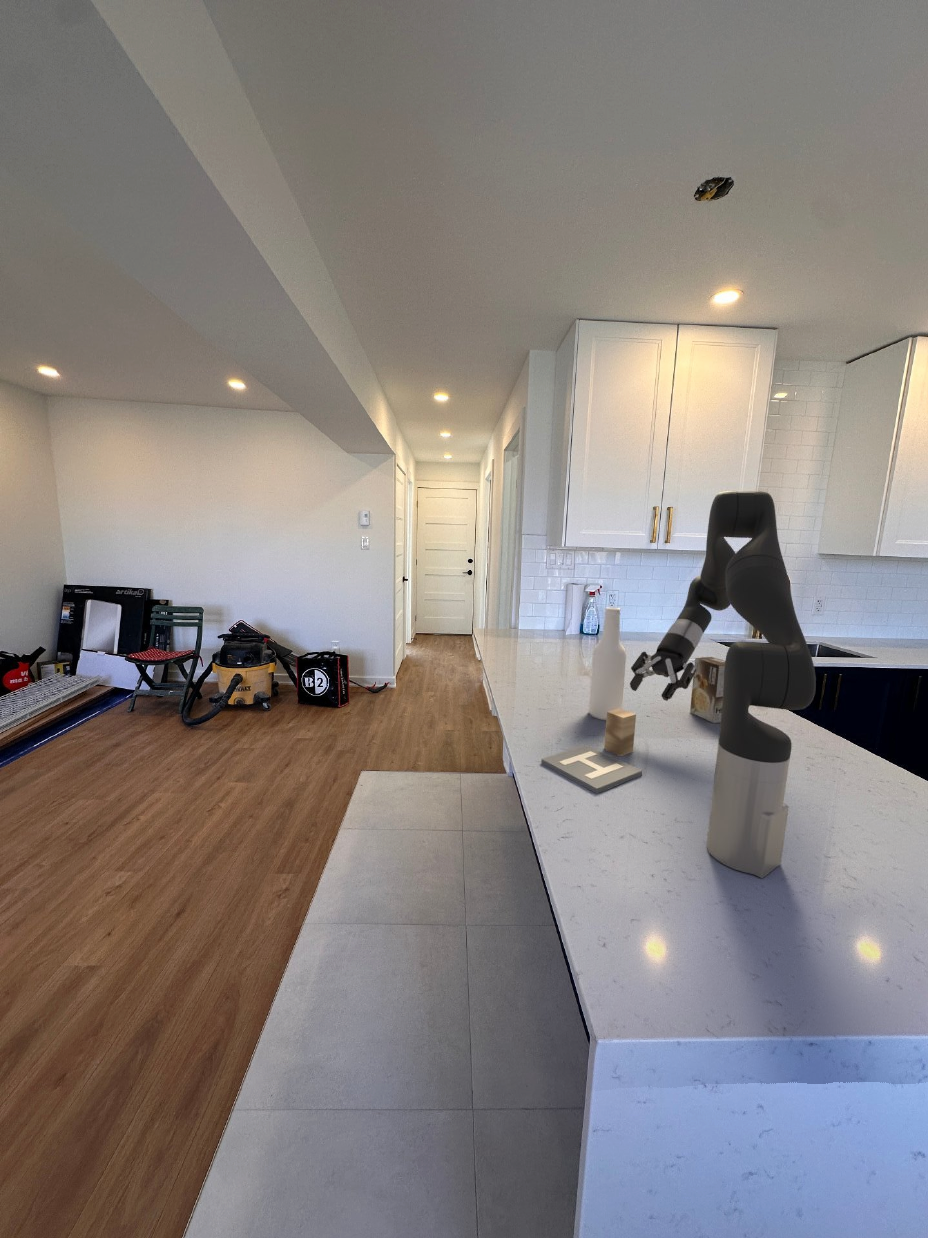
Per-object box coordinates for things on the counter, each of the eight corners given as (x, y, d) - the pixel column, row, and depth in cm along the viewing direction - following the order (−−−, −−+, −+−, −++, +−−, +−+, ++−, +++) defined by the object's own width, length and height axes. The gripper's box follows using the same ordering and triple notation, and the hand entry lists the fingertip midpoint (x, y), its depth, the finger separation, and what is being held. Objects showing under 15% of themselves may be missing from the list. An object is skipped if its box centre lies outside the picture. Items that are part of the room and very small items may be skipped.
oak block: (632, 751, 113) (636, 714, 111) (620, 756, 110) (623, 717, 109) (616, 745, 116) (619, 708, 115) (604, 749, 114) (607, 711, 112)
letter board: (641, 775, 101) (642, 770, 101) (596, 793, 93) (597, 788, 93) (585, 749, 113) (586, 744, 113) (541, 763, 105) (541, 758, 105)
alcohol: (625, 714, 137) (634, 607, 132) (615, 723, 130) (624, 611, 125) (594, 707, 142) (602, 604, 137) (583, 716, 135) (591, 607, 130)
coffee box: (732, 721, 134) (738, 664, 131) (713, 723, 132) (719, 665, 129) (706, 710, 143) (712, 656, 140) (688, 712, 141) (693, 657, 138)
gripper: (649, 627, 125) (616, 677, 120) (703, 637, 113) (669, 692, 109) (659, 645, 129) (628, 694, 124) (713, 657, 117) (681, 711, 113)
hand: (647, 693), depth 116 cm, fingers open, 8 cm apart
